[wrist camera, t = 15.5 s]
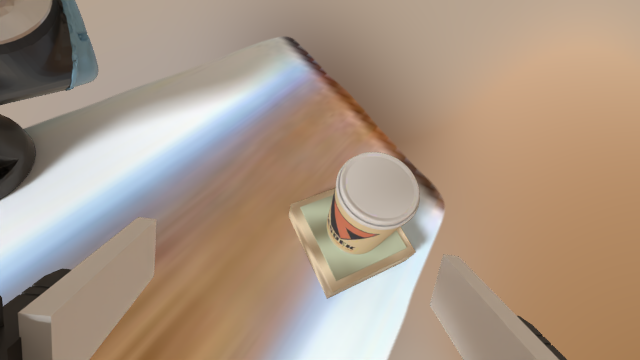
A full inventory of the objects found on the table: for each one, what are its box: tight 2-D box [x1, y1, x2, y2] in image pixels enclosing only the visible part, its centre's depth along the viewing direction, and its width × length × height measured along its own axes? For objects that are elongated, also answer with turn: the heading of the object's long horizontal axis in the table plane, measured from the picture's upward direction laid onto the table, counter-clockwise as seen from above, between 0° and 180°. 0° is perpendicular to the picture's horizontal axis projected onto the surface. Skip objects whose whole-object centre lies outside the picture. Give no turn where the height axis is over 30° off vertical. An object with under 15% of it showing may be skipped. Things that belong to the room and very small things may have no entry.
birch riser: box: [289, 188, 415, 299], centre depth 49 cm, size 13×13×4 cm
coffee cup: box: [327, 152, 420, 255], centre depth 42 cm, size 9×9×12 cm
